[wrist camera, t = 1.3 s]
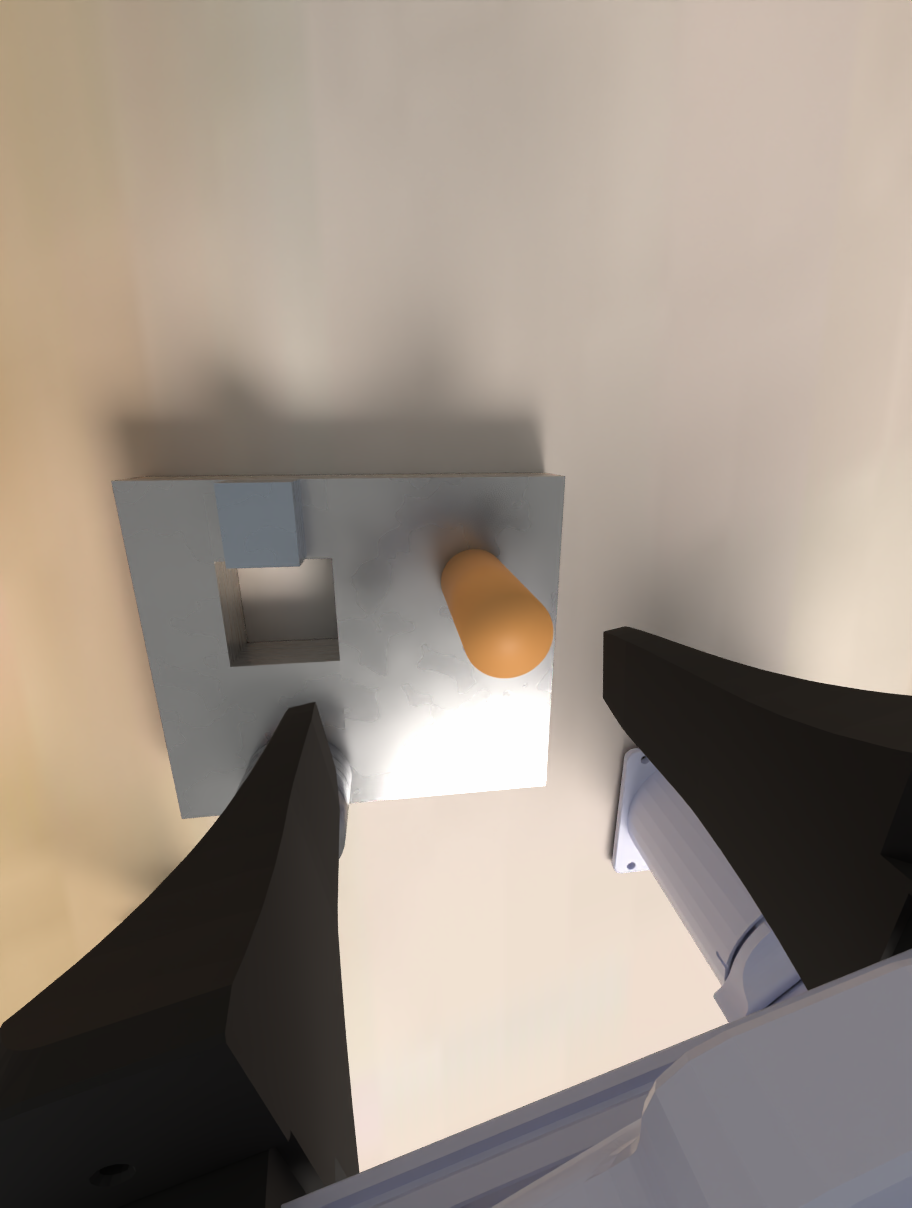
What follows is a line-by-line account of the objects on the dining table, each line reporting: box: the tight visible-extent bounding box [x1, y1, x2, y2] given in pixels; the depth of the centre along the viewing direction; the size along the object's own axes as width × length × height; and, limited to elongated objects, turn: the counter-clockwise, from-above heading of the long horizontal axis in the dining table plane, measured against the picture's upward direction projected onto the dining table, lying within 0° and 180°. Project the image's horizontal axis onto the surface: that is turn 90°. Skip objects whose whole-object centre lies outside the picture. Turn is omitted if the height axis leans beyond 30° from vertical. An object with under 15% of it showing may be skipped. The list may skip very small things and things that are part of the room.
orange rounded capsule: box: [441, 549, 553, 678], centre depth 17 cm, size 3×3×6 cm
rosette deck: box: [111, 473, 565, 858], centre depth 20 cm, size 16×15×6 cm
